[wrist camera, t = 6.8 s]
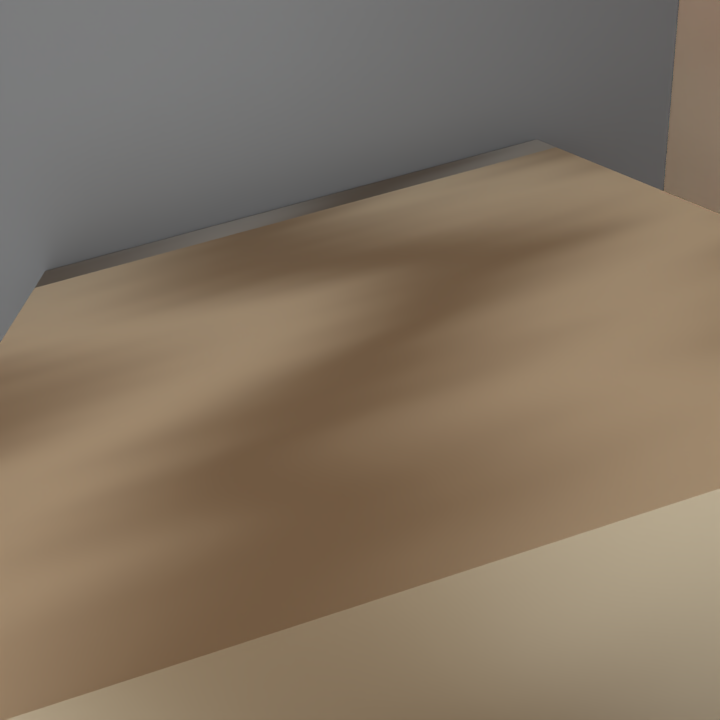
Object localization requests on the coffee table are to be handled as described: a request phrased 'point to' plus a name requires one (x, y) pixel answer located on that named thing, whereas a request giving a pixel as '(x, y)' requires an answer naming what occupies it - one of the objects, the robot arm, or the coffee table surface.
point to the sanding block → (374, 460)
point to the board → (296, 107)
